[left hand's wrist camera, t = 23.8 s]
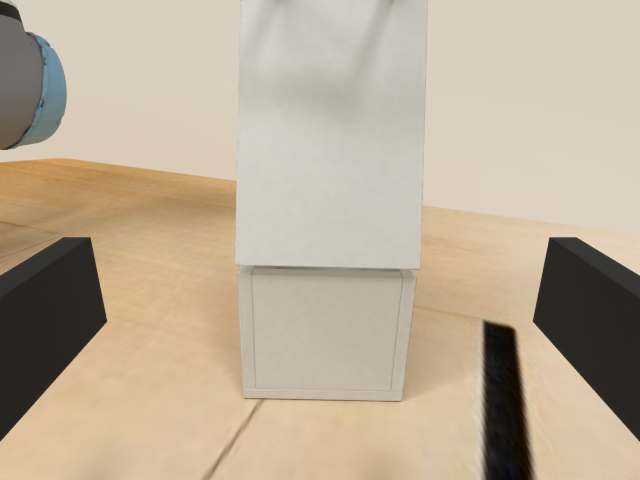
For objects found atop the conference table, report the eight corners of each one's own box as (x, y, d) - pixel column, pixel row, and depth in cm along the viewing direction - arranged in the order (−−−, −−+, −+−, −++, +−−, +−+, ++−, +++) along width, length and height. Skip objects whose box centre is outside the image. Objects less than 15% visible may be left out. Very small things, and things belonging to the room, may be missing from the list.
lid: (244, -51, 24) (208, -199, 16) (424, -45, 24) (481, -190, 16) (238, 264, 24) (198, 279, 16) (416, 268, 24) (467, 285, 16)
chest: (270, 279, 42) (269, 194, 39) (371, 281, 42) (378, 196, 39) (243, 398, 27) (236, 274, 24) (402, 401, 27) (417, 278, 24)
